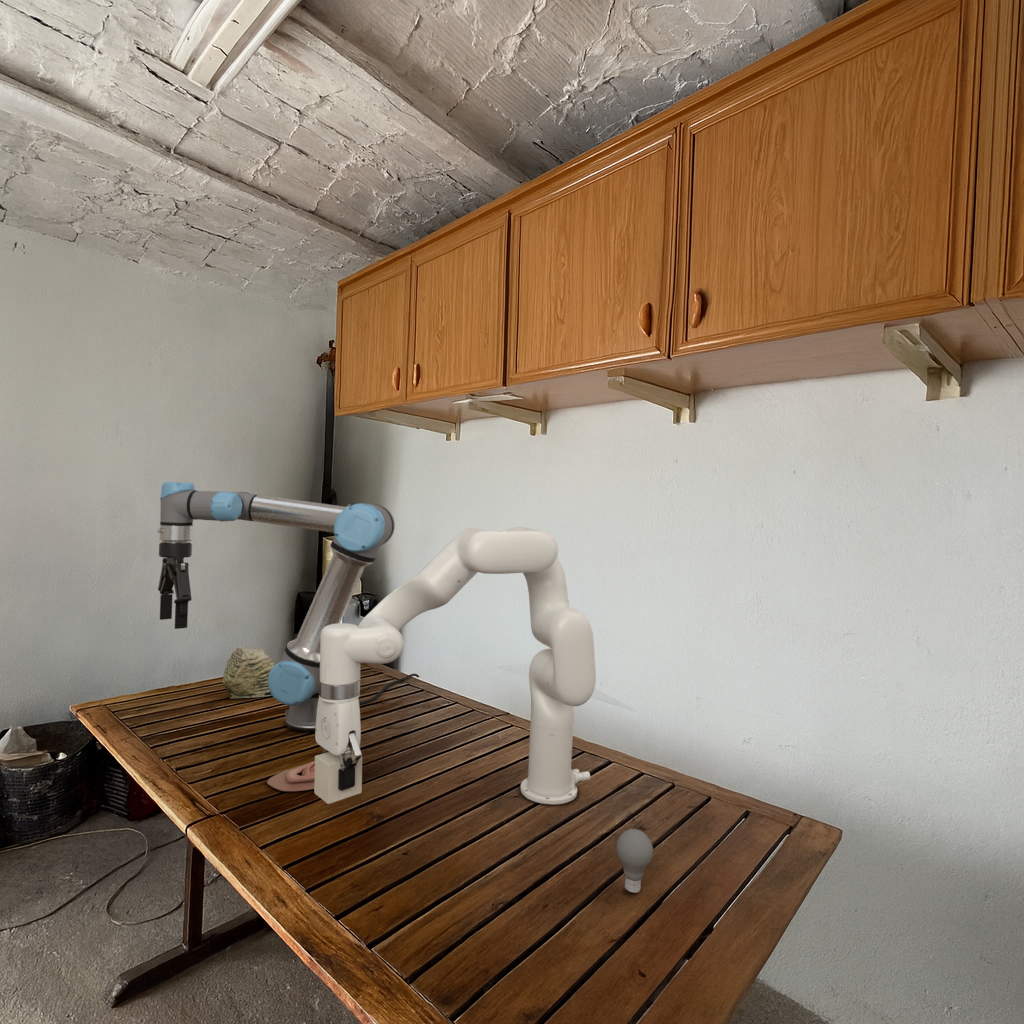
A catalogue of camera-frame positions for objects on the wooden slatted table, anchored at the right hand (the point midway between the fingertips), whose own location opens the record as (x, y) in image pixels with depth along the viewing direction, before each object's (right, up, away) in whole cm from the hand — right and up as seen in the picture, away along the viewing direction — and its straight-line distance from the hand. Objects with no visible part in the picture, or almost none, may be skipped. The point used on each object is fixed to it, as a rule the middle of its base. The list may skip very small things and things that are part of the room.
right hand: (338, 781), depth 122 cm
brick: (0, -2, 0) cm, 2 cm away
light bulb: (+54, -12, -16) cm, 57 cm away
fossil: (-47, -5, +76) cm, 90 cm away
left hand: (-54, +23, +42) cm, 73 cm away
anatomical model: (-13, -8, +19) cm, 24 cm away
